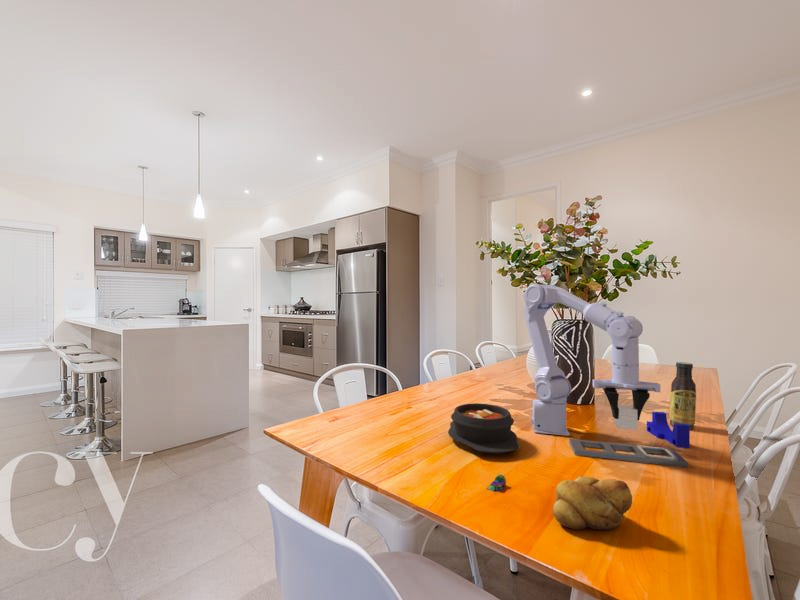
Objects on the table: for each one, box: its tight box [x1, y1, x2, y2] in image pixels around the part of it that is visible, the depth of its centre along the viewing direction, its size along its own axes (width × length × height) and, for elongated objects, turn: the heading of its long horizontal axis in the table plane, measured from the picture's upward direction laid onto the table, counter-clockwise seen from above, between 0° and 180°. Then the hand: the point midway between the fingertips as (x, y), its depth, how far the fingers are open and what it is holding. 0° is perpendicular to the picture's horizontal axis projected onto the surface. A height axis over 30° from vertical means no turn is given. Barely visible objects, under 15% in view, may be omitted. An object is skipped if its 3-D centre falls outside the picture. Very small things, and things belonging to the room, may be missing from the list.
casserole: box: [447, 403, 520, 454], centre depth 99 cm, size 25×19×8 cm
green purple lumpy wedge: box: [485, 473, 507, 493], centre depth 74 cm, size 4×3×2 cm, turn 142°
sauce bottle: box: [668, 361, 697, 430], centre depth 110 cm, size 6×6×20 cm
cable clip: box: [646, 411, 691, 449], centre depth 100 cm, size 12×4×6 cm, turn 171°
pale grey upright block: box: [613, 403, 639, 431], centre depth 90 cm, size 4×4×5 cm
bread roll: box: [552, 475, 633, 531], centre depth 63 cm, size 13×10×8 cm
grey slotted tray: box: [568, 438, 689, 469], centre depth 90 cm, size 24×8×2 cm, turn 74°
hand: (625, 418), depth 90 cm, fingers closed on pale grey upright block, 4 cm apart
